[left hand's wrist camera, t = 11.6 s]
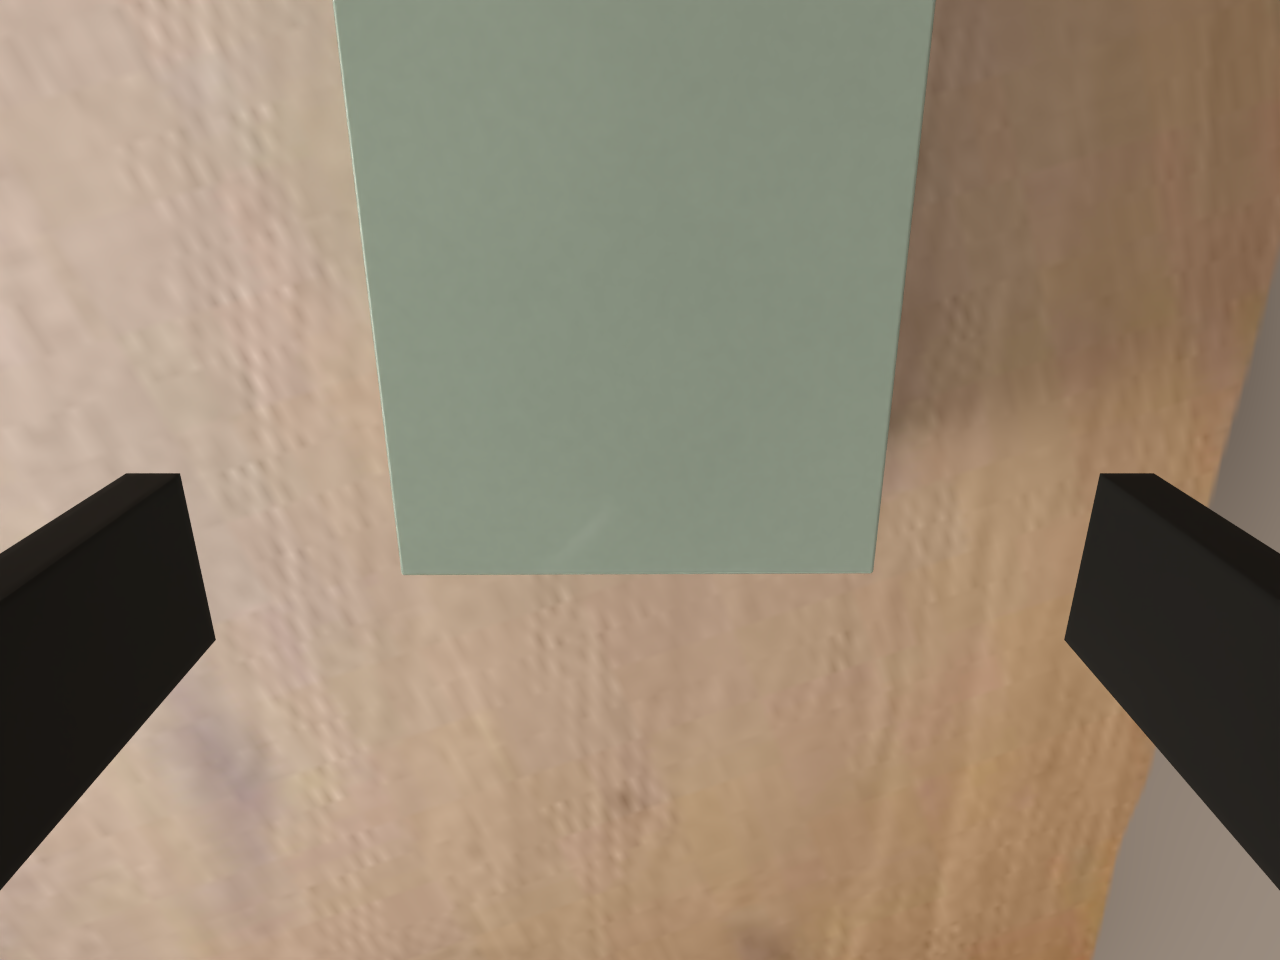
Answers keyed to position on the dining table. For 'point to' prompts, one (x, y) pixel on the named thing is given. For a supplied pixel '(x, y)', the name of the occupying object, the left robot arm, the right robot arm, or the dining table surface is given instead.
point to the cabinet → (635, 275)
